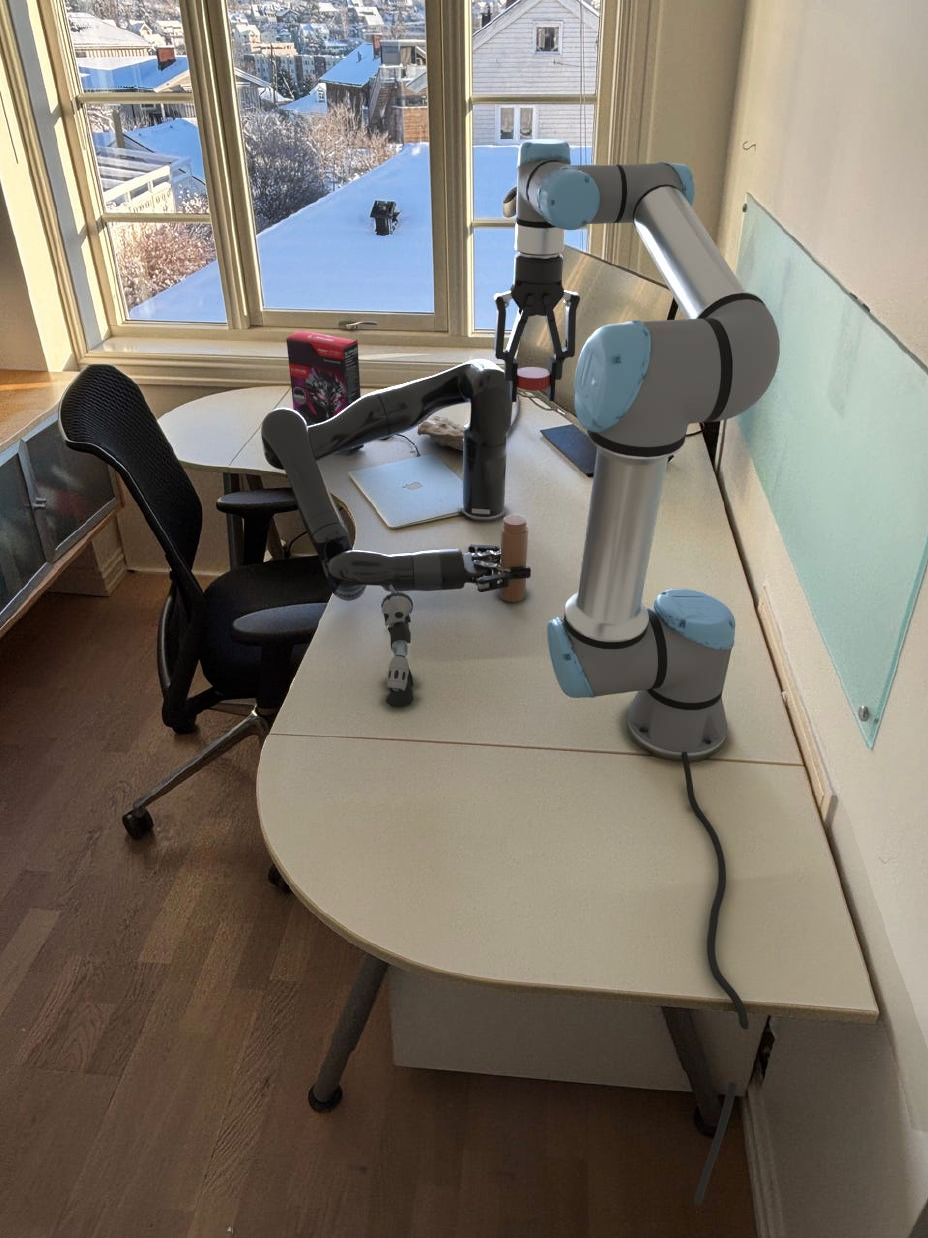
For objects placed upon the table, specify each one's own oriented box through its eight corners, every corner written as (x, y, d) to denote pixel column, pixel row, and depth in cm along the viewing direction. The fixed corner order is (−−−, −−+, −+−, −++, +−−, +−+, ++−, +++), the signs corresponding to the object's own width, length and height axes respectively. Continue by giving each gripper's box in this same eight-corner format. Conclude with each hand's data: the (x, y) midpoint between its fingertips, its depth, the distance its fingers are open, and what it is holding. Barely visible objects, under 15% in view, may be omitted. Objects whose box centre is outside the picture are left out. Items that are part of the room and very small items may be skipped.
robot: (415, 731, 142) (412, 624, 131) (384, 732, 142) (378, 624, 131) (414, 656, 158) (412, 555, 147) (386, 656, 158) (381, 555, 147)
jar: (526, 601, 174) (530, 525, 165) (500, 602, 173) (503, 526, 164) (522, 587, 178) (526, 512, 169) (497, 588, 177) (499, 513, 168)
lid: (514, 378, 155) (514, 366, 154) (549, 379, 155) (549, 366, 154) (514, 390, 151) (515, 377, 149) (550, 391, 150) (551, 378, 149)
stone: (401, 440, 228) (406, 416, 226) (420, 431, 242) (425, 408, 239) (481, 464, 225) (487, 440, 222) (495, 454, 238) (501, 431, 236)
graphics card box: (294, 443, 234) (283, 336, 218) (310, 434, 239) (300, 328, 224) (350, 457, 227) (343, 347, 212) (366, 447, 232) (360, 339, 217)
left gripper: (432, 568, 178) (519, 562, 180) (441, 608, 166) (534, 601, 168) (432, 533, 174) (521, 528, 176) (441, 572, 162) (536, 566, 164)
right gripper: (593, 246, 145) (582, 389, 158) (475, 248, 144) (473, 392, 157) (604, 257, 139) (591, 405, 152) (481, 259, 137) (478, 408, 150)
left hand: (526, 564), depth 172 cm, fingers closed on jar, 5 cm apart
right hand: (531, 398), depth 154 cm, fingers closed on lid, 6 cm apart
